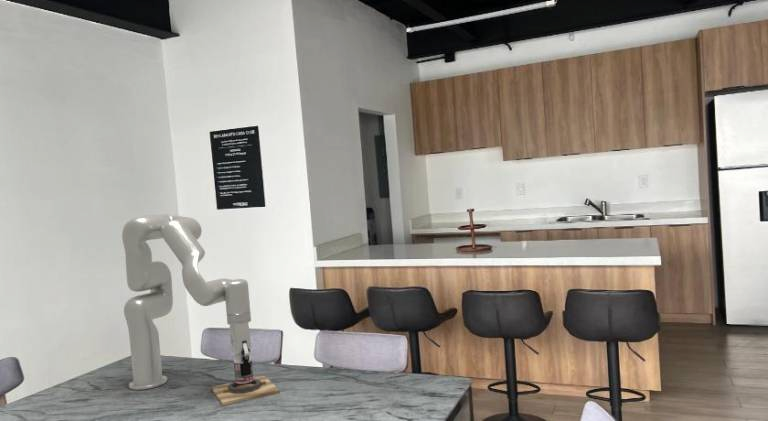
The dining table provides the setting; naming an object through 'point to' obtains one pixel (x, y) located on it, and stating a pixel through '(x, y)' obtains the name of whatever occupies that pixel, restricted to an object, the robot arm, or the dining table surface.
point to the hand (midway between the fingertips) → (243, 372)
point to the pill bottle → (238, 377)
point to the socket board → (244, 390)
